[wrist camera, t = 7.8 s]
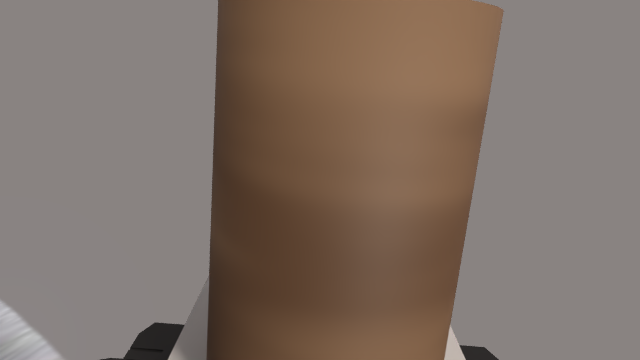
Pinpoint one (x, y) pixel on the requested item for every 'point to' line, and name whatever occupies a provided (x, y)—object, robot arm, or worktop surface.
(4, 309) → the worktop surface
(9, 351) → the worktop surface
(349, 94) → the peg
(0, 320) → the worktop surface
